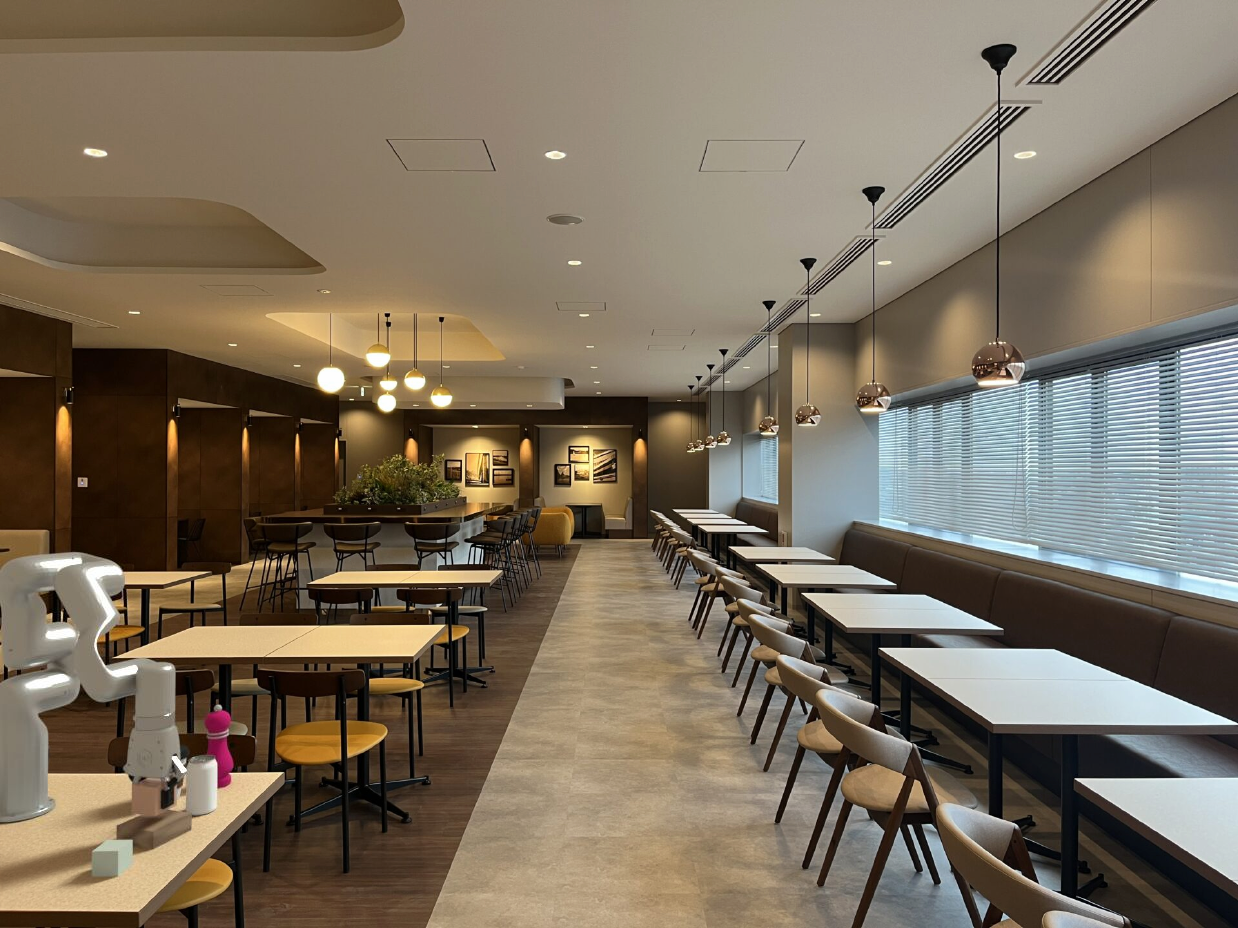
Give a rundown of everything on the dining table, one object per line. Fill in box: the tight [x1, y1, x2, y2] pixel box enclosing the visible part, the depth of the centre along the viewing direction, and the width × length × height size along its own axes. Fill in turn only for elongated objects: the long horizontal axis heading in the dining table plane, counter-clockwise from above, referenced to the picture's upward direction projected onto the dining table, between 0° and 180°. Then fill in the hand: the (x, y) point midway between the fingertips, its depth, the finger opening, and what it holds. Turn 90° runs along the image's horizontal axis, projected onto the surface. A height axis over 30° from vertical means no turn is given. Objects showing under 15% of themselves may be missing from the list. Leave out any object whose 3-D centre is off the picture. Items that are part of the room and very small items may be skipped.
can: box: [185, 754, 218, 817], centre depth 191 cm, size 6×6×12 cm
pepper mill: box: [204, 704, 234, 789], centre depth 208 cm, size 7×7×20 cm
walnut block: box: [115, 809, 193, 850], centre depth 178 cm, size 10×10×4 cm
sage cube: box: [91, 839, 134, 878], centre depth 162 cm, size 5×5×5 cm
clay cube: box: [131, 777, 178, 816], centre depth 178 cm, size 6×6×6 cm
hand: (154, 804), depth 178 cm, fingers closed on clay cube, 5 cm apart
